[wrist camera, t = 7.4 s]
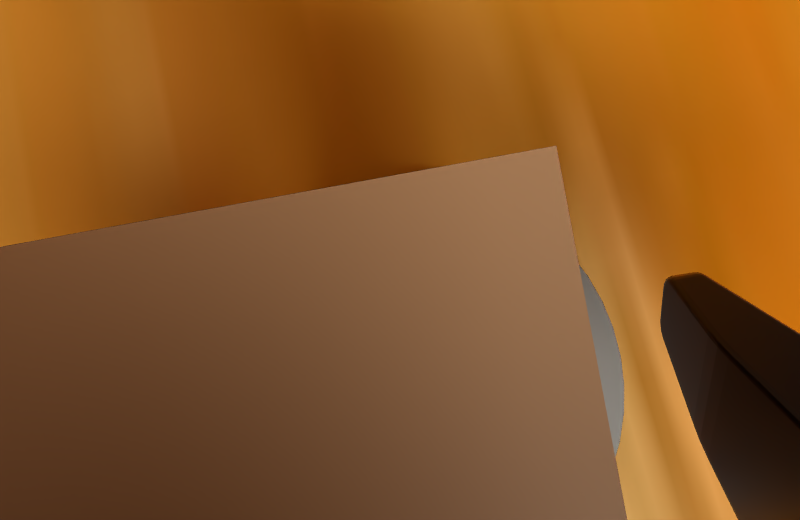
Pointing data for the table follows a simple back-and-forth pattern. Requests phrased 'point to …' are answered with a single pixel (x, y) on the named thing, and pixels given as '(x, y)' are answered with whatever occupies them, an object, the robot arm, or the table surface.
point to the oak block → (312, 359)
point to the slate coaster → (606, 359)
